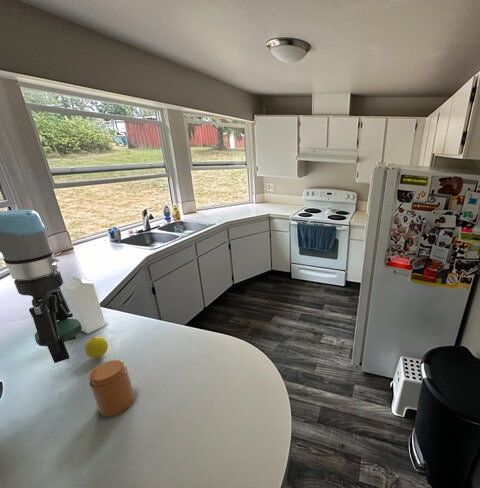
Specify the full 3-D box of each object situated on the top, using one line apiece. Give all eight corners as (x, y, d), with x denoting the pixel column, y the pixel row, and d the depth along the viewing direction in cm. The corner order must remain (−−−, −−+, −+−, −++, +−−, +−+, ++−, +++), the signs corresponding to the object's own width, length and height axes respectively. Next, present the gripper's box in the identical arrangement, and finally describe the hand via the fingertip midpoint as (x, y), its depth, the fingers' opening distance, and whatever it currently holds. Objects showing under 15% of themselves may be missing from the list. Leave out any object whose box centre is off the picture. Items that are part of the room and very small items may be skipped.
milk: (97, 321, 102) (82, 272, 95) (106, 325, 100) (91, 275, 93) (78, 329, 97) (61, 278, 90) (87, 334, 94) (70, 282, 87)
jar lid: (84, 321, 72) (82, 315, 71) (78, 338, 65) (76, 331, 65) (43, 331, 67) (40, 324, 67) (31, 351, 61) (28, 343, 60)
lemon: (93, 353, 86) (86, 334, 83) (113, 349, 88) (107, 330, 85) (85, 365, 81) (78, 345, 78) (106, 360, 83) (100, 341, 80)
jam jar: (98, 422, 64) (84, 387, 60) (101, 399, 70) (89, 366, 66) (134, 406, 68) (124, 372, 64) (134, 386, 74) (125, 354, 70)
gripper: (46, 288, 54) (77, 369, 62) (68, 257, 70) (90, 324, 78) (-7, 298, 50) (33, 383, 58) (29, 262, 66) (56, 332, 74)
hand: (66, 349), depth 68 cm, fingers closed on jar lid, 8 cm apart
